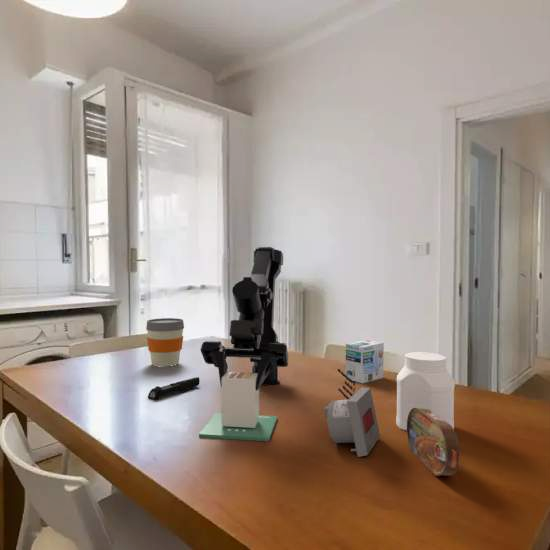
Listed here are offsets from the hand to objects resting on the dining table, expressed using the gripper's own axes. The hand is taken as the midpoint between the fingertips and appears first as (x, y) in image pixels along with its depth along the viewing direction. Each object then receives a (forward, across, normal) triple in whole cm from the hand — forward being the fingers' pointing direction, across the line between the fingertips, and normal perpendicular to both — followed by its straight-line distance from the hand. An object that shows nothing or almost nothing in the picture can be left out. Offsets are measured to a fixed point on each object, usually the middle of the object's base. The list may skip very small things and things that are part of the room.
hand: (239, 388), depth 86 cm
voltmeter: (+4, +23, +9) cm, 25 cm away
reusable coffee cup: (-30, -38, +43) cm, 65 cm away
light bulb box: (-25, +29, +38) cm, 53 cm away
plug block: (+4, 0, +6) cm, 8 cm away
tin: (+13, +36, 0) cm, 38 cm away
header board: (+5, 0, +7) cm, 9 cm away
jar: (+1, +38, +12) cm, 40 cm away
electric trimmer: (-9, -23, +22) cm, 33 cm away
